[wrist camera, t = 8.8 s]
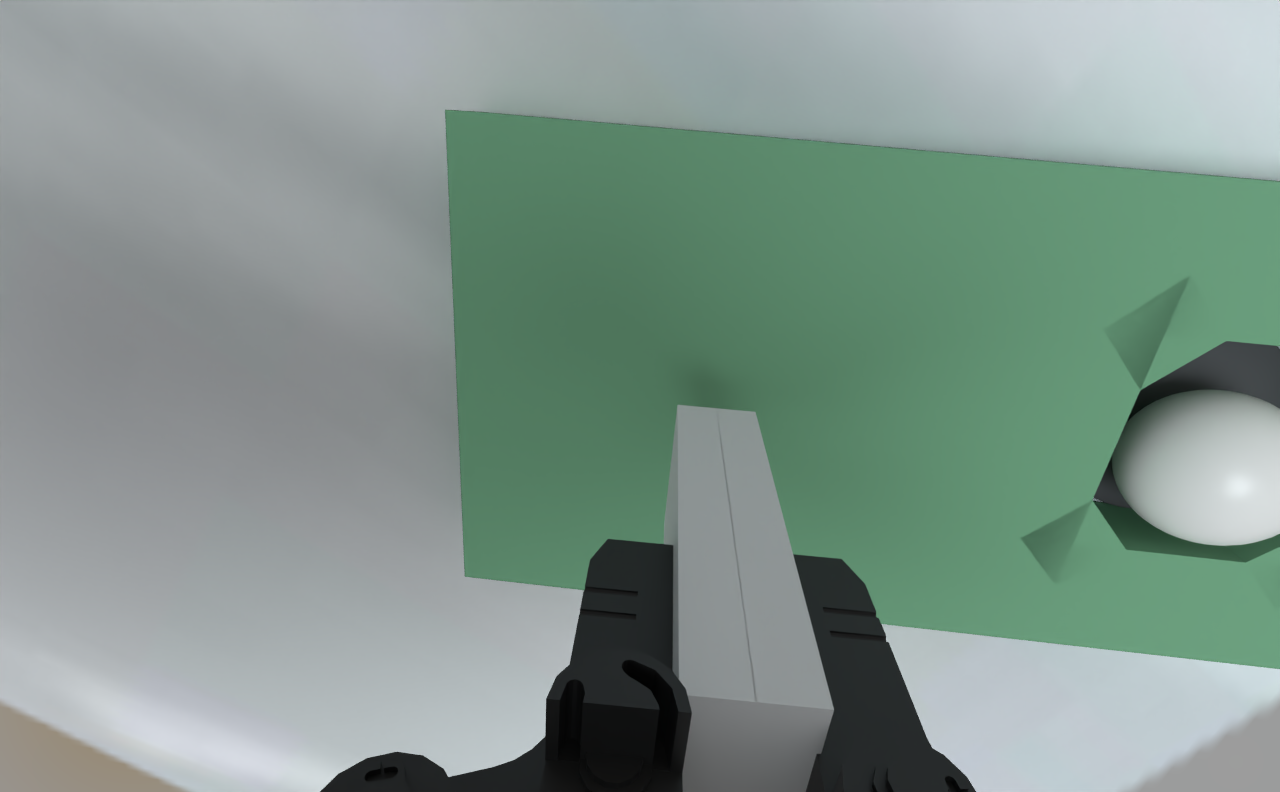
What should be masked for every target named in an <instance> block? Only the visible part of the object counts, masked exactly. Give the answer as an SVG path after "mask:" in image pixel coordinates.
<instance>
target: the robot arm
mask: <svg viewBox="0 0 1280 792" xmlns="http://www.w3.org/2000/svg"><path fill="white" fill-rule="evenodd" d="M320 792H976V791H975V789H974V788H973V786H972V785H971V783H970V781H969V780H968V778H967V777H966V776H965V775H964V774H963V773H962V772H961V771H960V770H959V769H958V768H957V767H956V766H955V765H954V764H953V763H952V762H950V761H949V760H948V759H947V758H946V757H945V756H944V755H943V754H941V753H939V752H938V751H936V750H934V749H932V747H931V745H930V743H929V741H928V739H927V737H926V735H925V732H924V730H923V727H922V725H921V722H920V720H919V717H918V715H917V712H916V710H915V707H914V705H913V702H912V700H911V697H910V695H909V692H908V690H907V687H906V685H905V682H904V680H903V677H902V675H901V672H900V670H899V667H898V665H897V662H896V660H895V657H894V655H893V652H892V650H891V647H890V645H889V642H886V635H885V632H884V630H883V627H882V625H881V622H880V620H879V618H877V617H876V610H875V607H874V605H873V602H872V600H871V597H870V595H869V592H868V590H867V587H866V585H865V583H864V582H863V581H862V580H861V579H860V578H859V577H858V576H857V575H856V574H855V573H854V571H853V570H852V569H851V568H850V567H849V566H848V565H847V564H846V563H845V562H844V561H843V560H842V559H838V558H827V557H817V556H806V555H796V554H793V552H792V548H791V545H790V541H789V537H788V533H787V529H786V526H785V522H784V518H783V514H782V510H781V507H780V503H779V499H778V495H777V491H776V488H775V484H774V480H773V476H772V473H771V469H770V465H769V461H768V457H767V454H766V450H765V446H764V442H763V438H762V435H761V431H760V427H759V423H758V419H757V416H756V412H751V411H741V410H730V409H719V408H708V407H697V406H686V405H677V414H676V423H675V432H674V440H673V449H672V458H671V467H670V476H669V485H668V493H667V502H666V511H665V520H664V544H657V543H647V542H636V541H626V540H615V539H607V540H606V542H605V543H604V544H603V545H602V546H601V547H600V549H599V550H598V551H597V552H596V553H595V554H594V556H593V557H592V558H591V559H590V562H589V567H588V572H587V578H586V583H585V590H584V593H583V598H582V604H581V609H580V615H579V619H578V624H577V630H576V635H575V640H574V645H573V650H572V656H571V661H570V665H569V666H568V667H566V668H565V669H564V670H563V671H562V672H561V673H560V674H559V675H558V676H557V677H556V679H555V681H554V683H553V685H552V688H551V690H550V692H549V694H548V696H547V698H546V737H545V738H543V739H542V740H541V741H540V742H539V743H538V744H537V745H536V746H535V747H534V748H533V749H532V750H530V751H528V752H527V753H525V754H523V755H522V756H520V757H518V758H517V759H515V760H513V761H510V762H507V763H504V764H501V765H498V766H495V767H492V768H488V769H483V770H479V771H474V772H470V773H465V774H461V775H457V776H452V777H448V776H447V774H446V772H445V771H444V769H443V768H441V767H440V766H438V765H437V764H435V763H434V762H432V761H431V760H429V759H428V758H426V757H424V756H422V755H415V754H408V753H401V752H394V753H389V754H385V755H380V756H375V757H370V758H367V759H365V760H363V761H361V762H359V763H358V764H356V765H354V766H352V767H350V768H348V769H347V770H345V771H343V772H341V773H339V774H338V775H337V776H336V777H335V778H334V779H333V780H332V781H331V782H330V783H329V784H328V785H327V786H326V787H325V788H324V789H322V790H321V791H320Z"/></svg>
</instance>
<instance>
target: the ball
mask: <svg viewBox="0 0 1280 792" xmlns="http://www.w3.org/2000/svg"><path fill="white" fill-rule="evenodd" d="M1112 469H1113V475H1114V478H1115V482H1116V484H1117V487H1118V489H1119V491H1120V493H1121V494H1122V496H1123V498H1124V499H1125V500H1126V502H1127V503H1128V504H1129V506H1130V507H1131V508H1132V509H1133V510H1134V511H1135V512H1136V513H1137V514H1138V515H1139V516H1140V517H1142V518H1143V519H1144V520H1145V521H1147V522H1148V523H1150V524H1151V525H1153V526H1154V527H1156V528H1158V529H1160V530H1162V531H1163V532H1165V533H1168V534H1170V535H1172V536H1175V537H1178V538H1181V539H1184V540H1187V541H1191V542H1195V543H1201V544H1207V545H1218V546H1229V545H1244V544H1249V543H1255V542H1258V541H1262V540H1265V539H1268V538H1271V537H1274V536H1276V535H1278V534H1280V409H1279V408H1277V407H1276V406H1274V405H1272V404H1271V403H1268V402H1266V401H1264V400H1261V399H1259V398H1256V397H1253V396H1250V395H1246V394H1242V393H1238V392H1233V391H1225V390H1194V391H1187V392H1181V393H1177V394H1173V395H1170V396H1167V397H1164V398H1162V399H1159V400H1157V401H1155V402H1153V403H1151V404H1149V405H1147V406H1146V407H1144V408H1143V409H1141V410H1140V411H1139V412H1137V413H1136V414H1135V415H1134V416H1133V417H1132V418H1131V419H1130V420H1129V421H1128V422H1127V423H1126V425H1125V426H1124V429H1123V431H1122V433H1121V436H1120V438H1119V440H1118V442H1117V445H1116V447H1115V449H1114V452H1113V455H1112Z"/></svg>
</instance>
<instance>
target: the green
mask: <svg viewBox="0 0 1280 792" xmlns="http://www.w3.org/2000/svg"><path fill="white" fill-rule="evenodd" d="M445 118H446V142H447V165H448V189H449V213H450V236H451V260H452V284H453V308H454V331H455V355H456V379H457V403H458V426H459V450H460V474H461V498H462V521H463V545H464V569H465V577H473V578H482V579H491V580H500V581H508V582H517V583H526V584H535V585H544V586H552V587H561V588H570V589H579V590H585V583H586V578H587V572H588V567H589V562H590V559H591V558H592V557H593V556H594V554H595V553H596V552H597V551H598V550H599V549H600V547H601V546H602V545H603V544H604V543H605V542H606V540H607V539H615V540H626V541H636V542H647V543H657V544H664V520H665V511H666V502H667V493H668V485H669V476H670V467H671V458H672V449H673V440H674V432H675V423H676V414H677V405H686V406H697V407H708V408H719V409H730V410H741V411H751V412H756V416H757V419H758V423H759V427H760V431H761V435H762V438H763V442H764V446H765V450H766V454H767V457H768V461H769V465H770V469H771V473H772V476H773V480H774V484H775V488H776V491H777V495H778V499H779V503H780V507H781V510H782V514H783V518H784V522H785V526H786V529H787V533H788V537H789V541H790V545H791V548H792V552H793V554H796V555H806V556H817V557H827V558H838V559H842V560H843V561H844V562H845V563H846V564H847V565H848V566H849V567H850V568H851V569H852V570H853V571H854V573H855V574H856V575H857V576H858V577H859V578H860V579H861V580H862V581H863V582H864V583H865V585H866V587H867V590H868V592H869V595H870V597H871V600H872V602H873V605H874V607H875V610H876V617H877V618H879V620H880V622H881V624H887V625H896V626H905V627H914V628H923V629H931V630H940V631H949V632H958V633H967V634H975V635H984V636H993V637H1002V638H1011V639H1019V640H1028V641H1037V642H1046V643H1055V644H1063V645H1072V646H1081V647H1090V648H1099V649H1108V650H1116V651H1125V652H1134V653H1143V654H1152V655H1160V656H1169V657H1178V658H1187V659H1196V660H1204V661H1213V662H1222V663H1231V664H1240V665H1248V666H1257V667H1266V668H1275V669H1280V534H1278V535H1276V536H1274V537H1271V538H1268V539H1265V540H1262V541H1258V542H1255V543H1249V544H1244V545H1229V546H1218V545H1207V544H1201V543H1195V542H1191V541H1187V540H1184V539H1181V538H1178V537H1175V536H1172V535H1170V534H1168V533H1165V532H1163V531H1162V530H1160V529H1158V528H1156V527H1154V526H1153V525H1151V524H1150V523H1148V522H1147V521H1145V520H1144V519H1143V518H1142V517H1140V516H1139V515H1138V514H1137V513H1136V512H1135V511H1134V510H1133V509H1132V508H1131V507H1130V506H1129V504H1128V503H1127V502H1126V500H1125V499H1124V498H1123V496H1122V494H1121V493H1120V491H1119V489H1118V487H1117V484H1116V482H1115V478H1114V475H1113V469H1112V455H1113V452H1114V449H1115V447H1116V445H1117V442H1118V440H1119V438H1120V436H1121V433H1122V431H1123V429H1124V426H1125V425H1126V423H1127V422H1128V421H1129V420H1130V419H1131V418H1132V417H1133V416H1134V415H1135V414H1136V413H1137V412H1139V411H1140V410H1141V409H1143V408H1144V407H1146V406H1147V405H1149V404H1151V403H1153V402H1155V401H1157V400H1159V399H1162V398H1164V397H1167V396H1170V395H1173V394H1177V393H1181V392H1187V391H1194V390H1225V391H1233V392H1238V393H1242V394H1246V395H1250V396H1253V397H1256V398H1259V399H1261V400H1264V401H1266V402H1268V403H1271V404H1272V405H1274V406H1276V407H1277V408H1279V409H1280V349H1279V348H1278V347H1277V346H1280V181H1272V180H1260V179H1249V178H1237V177H1226V176H1214V175H1203V174H1191V173H1180V172H1168V171H1156V170H1145V169H1133V168H1122V167H1110V166H1099V165H1087V164H1076V163H1064V162H1053V161H1041V160H1030V159H1018V158H1007V157H995V156H984V155H972V154H960V153H949V152H937V151H926V150H914V149H903V148H891V147H880V146H868V145H857V144H845V143H834V142H822V141H811V140H799V139H788V138H776V137H764V136H753V135H741V134H730V133H718V132H707V131H695V130H684V129H672V128H661V127H649V126H638V125H626V124H615V123H603V122H592V121H580V120H568V119H557V118H545V117H534V116H522V115H511V114H499V113H488V112H475V111H458V110H445ZM1093 497H1094V498H1096V499H1098V500H1101V501H1103V502H1094V501H1092V500H1093ZM1104 502H1105V503H1104Z"/></svg>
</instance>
